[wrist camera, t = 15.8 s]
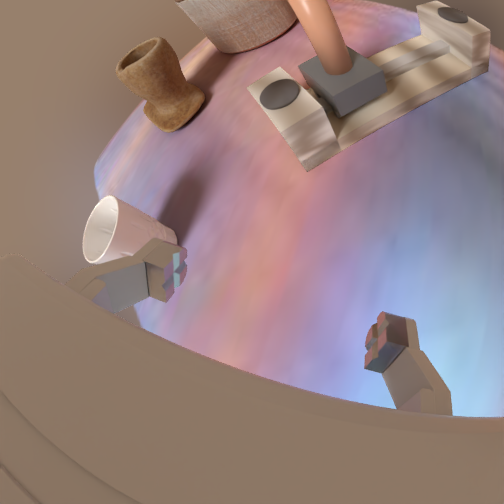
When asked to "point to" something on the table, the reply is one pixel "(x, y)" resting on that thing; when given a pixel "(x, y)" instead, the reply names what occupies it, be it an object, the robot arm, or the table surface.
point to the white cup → (120, 231)
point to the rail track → (397, 82)
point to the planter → (240, 21)
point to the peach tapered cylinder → (335, 61)
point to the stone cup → (160, 84)
